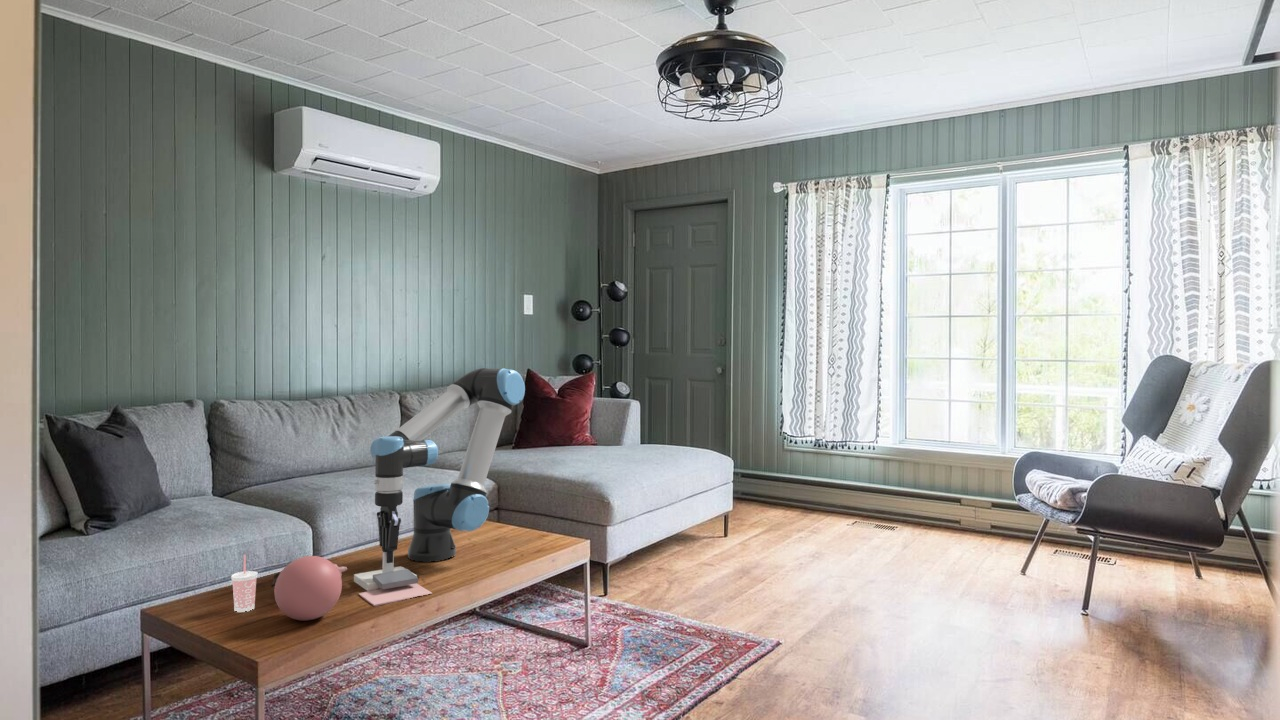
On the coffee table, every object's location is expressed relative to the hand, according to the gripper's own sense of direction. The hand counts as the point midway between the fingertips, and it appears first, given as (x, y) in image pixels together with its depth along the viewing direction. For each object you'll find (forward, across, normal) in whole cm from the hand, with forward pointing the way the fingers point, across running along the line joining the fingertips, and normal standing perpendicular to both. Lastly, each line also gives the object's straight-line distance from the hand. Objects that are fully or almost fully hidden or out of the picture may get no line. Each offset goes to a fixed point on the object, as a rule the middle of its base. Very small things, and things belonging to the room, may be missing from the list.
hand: (387, 573), depth 216 cm
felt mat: (+3, +10, -2) cm, 11 cm away
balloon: (+4, +15, -23) cm, 28 cm away
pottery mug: (+4, -5, -24) cm, 25 cm away
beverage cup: (+4, -1, -37) cm, 37 cm away
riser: (+3, -3, 0) cm, 4 cm away
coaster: (+1, +5, 0) cm, 5 cm away
